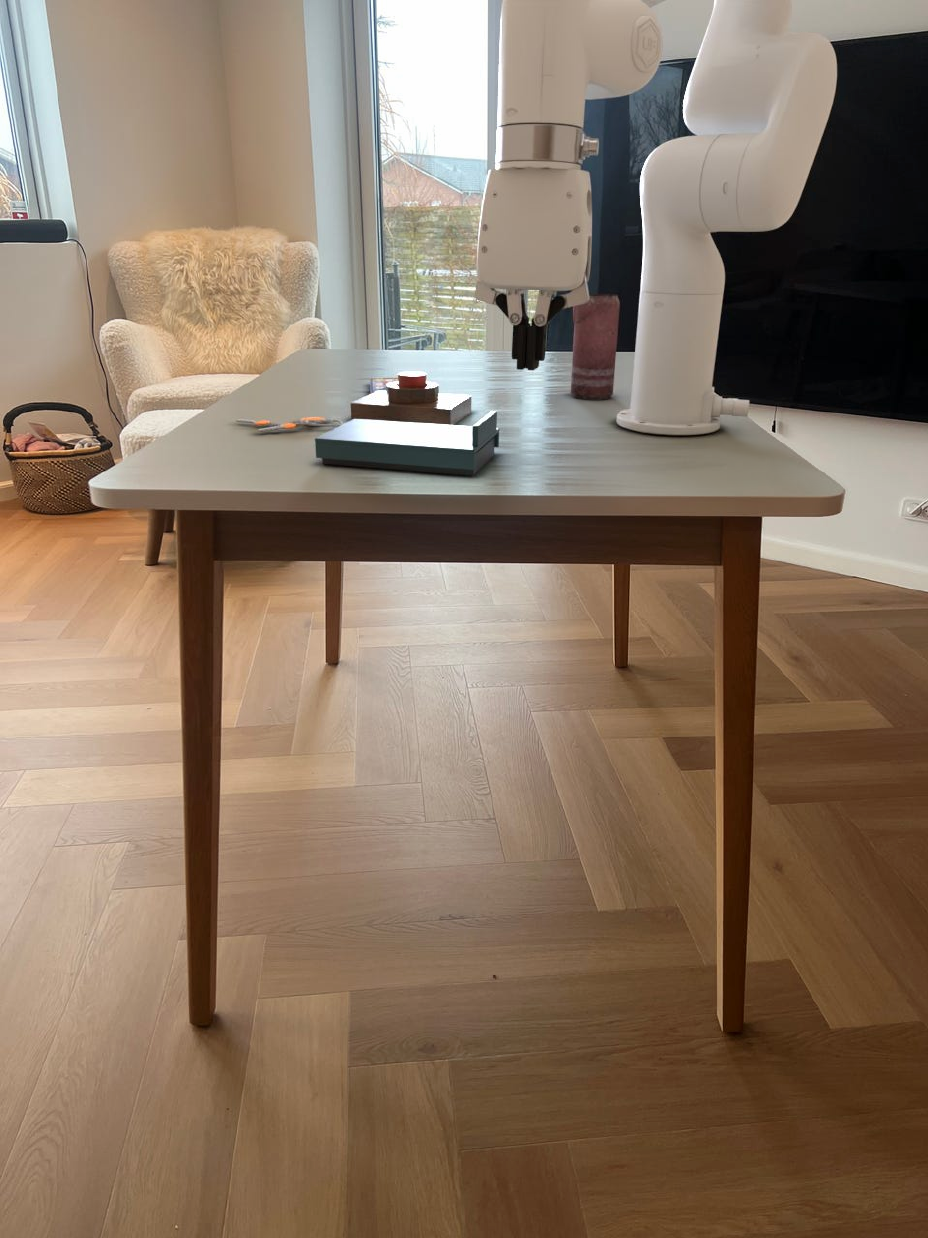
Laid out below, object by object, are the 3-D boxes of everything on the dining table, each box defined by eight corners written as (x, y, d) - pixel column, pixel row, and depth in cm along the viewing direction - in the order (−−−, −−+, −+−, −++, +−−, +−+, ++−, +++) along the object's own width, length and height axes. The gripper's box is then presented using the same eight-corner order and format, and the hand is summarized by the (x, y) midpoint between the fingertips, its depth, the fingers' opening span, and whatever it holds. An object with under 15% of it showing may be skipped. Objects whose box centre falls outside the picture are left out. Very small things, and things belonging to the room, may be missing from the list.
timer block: (471, 412, 115) (471, 381, 114) (450, 427, 106) (450, 393, 105) (378, 406, 118) (377, 376, 117) (351, 420, 109) (349, 388, 108)
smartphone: (370, 402, 121) (370, 384, 135) (423, 400, 122) (417, 382, 135) (370, 395, 121) (369, 378, 134) (423, 393, 121) (417, 376, 135)
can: (565, 393, 129) (570, 292, 124) (607, 392, 130) (614, 292, 124) (573, 400, 124) (579, 295, 118) (616, 399, 124) (625, 295, 119)
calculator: (494, 455, 93) (494, 435, 92) (473, 476, 85) (473, 455, 85) (354, 445, 97) (354, 426, 96) (322, 464, 89) (320, 443, 88)
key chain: (340, 418, 110) (340, 411, 109) (345, 430, 103) (345, 423, 103) (236, 421, 107) (235, 414, 107) (234, 434, 101) (234, 426, 100)
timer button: (430, 386, 112) (429, 372, 111) (421, 390, 109) (421, 376, 108) (403, 384, 113) (403, 370, 112) (394, 389, 110) (393, 375, 109)
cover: (498, 446, 94) (499, 408, 92) (474, 470, 84) (474, 428, 83) (354, 436, 97) (353, 400, 96) (315, 457, 88) (313, 418, 87)
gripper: (628, 157, 78) (610, 368, 85) (467, 157, 82) (463, 359, 89) (619, 148, 72) (600, 378, 79) (445, 148, 75) (442, 368, 82)
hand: (527, 367), depth 84 cm, fingers closed
